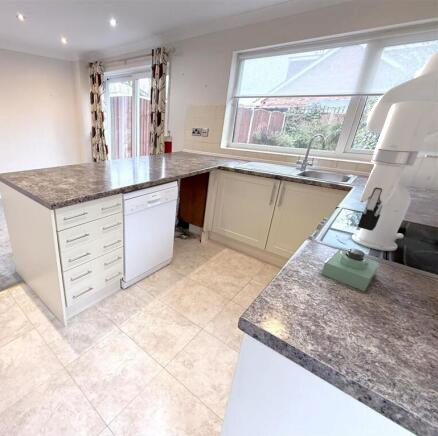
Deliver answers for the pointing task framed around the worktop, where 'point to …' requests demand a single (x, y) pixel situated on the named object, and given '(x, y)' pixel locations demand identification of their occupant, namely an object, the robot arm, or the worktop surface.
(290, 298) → the worktop surface
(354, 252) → the grey metal rounded piece
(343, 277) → the green stepped base
